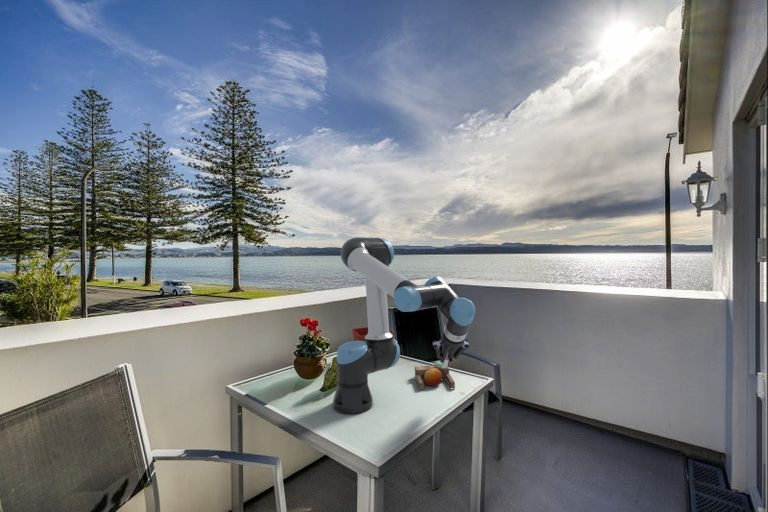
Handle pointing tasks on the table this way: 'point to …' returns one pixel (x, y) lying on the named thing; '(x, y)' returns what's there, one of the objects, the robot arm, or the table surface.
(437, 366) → the button
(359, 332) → the plant pot
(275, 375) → the table surface
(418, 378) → the brown wooden u shape
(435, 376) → the fruit
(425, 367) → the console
